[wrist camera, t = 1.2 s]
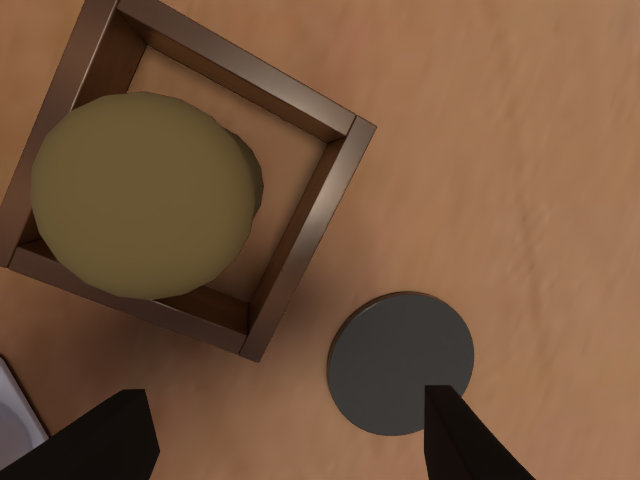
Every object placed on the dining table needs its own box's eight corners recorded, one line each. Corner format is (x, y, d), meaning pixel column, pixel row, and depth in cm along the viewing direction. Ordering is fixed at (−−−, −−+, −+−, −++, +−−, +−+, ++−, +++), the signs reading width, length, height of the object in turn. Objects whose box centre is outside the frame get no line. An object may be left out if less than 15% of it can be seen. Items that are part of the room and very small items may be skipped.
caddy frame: (258, 327, 21) (259, 363, 17) (37, 239, 18) (-23, 258, 14) (353, 134, 20) (378, 126, 16) (134, 11, 17) (98, -36, 13)
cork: (157, 102, 18) (8, 1, 7) (279, 147, 19) (310, 120, 8) (123, 223, 18) (-59, 297, 8) (242, 258, 20) (228, 363, 9)
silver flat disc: (352, 452, 23) (354, 458, 23) (306, 324, 21) (307, 328, 21) (483, 397, 24) (488, 402, 23) (451, 269, 22) (455, 271, 21)
